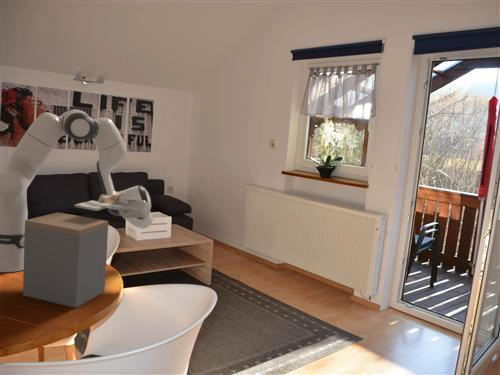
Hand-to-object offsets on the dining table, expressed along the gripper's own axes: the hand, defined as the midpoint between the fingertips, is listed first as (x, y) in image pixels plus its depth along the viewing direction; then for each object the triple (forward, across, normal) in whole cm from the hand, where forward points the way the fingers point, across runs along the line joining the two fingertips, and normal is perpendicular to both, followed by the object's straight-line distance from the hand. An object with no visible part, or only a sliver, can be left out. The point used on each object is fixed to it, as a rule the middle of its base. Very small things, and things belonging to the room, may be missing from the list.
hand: (115, 196), depth 176 cm
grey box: (+4, -4, +39) cm, 39 cm away
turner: (+5, 0, +5) cm, 7 cm away
